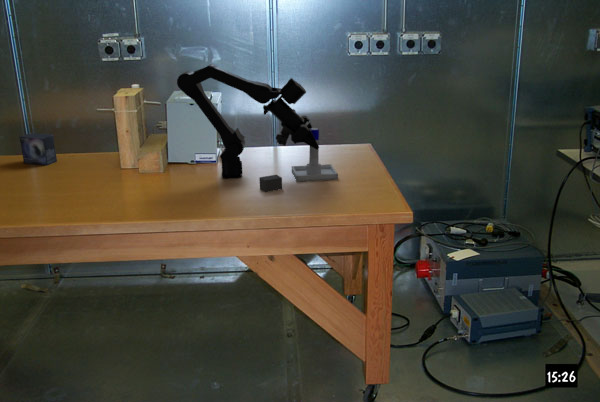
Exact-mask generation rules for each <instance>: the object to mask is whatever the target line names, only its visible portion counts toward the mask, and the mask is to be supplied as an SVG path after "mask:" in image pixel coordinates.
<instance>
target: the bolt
mask: <svg viewBox="0 0 600 402" xmlns="http://www.w3.org/2000/svg"><path fill="white" fill-rule="evenodd" d="M311 131H312V133H313V136H314V138H315V140H316V142H317V144H318V146H319V147H320V141H319V140H320V128H318V127H313V128H311ZM318 142H319V143H318ZM319 149H320V148H319ZM319 149H315V148H313V147H311V146H310V145H309V156H308V157H309V161H308V163H307V164H306V165H307V172H306V173H307V174H308V175H316V174H321V165H322V164H321V163H319V158H320V157H319V154H320V153H319Z"/></svg>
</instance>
